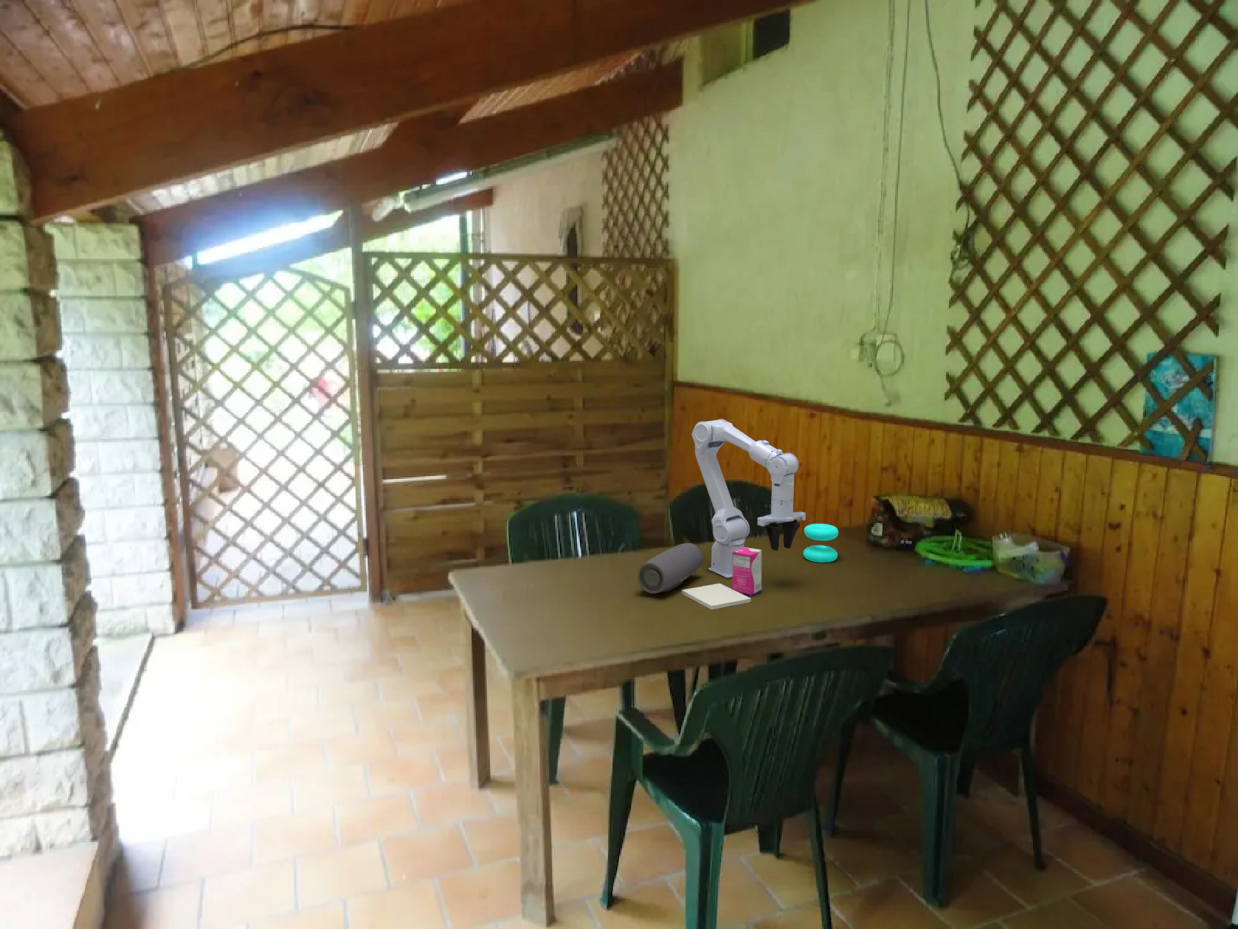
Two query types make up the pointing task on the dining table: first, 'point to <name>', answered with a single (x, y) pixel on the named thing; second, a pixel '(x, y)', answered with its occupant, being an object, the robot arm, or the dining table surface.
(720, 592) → the mat
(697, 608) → the dining table surface
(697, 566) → the bluetooth speaker
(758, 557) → the supplement box
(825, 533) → the donuts
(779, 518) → the robot arm
